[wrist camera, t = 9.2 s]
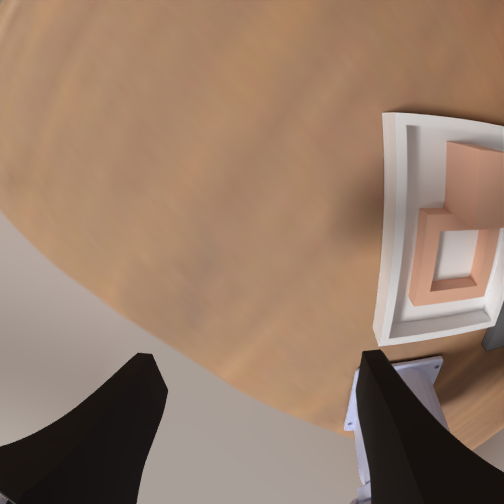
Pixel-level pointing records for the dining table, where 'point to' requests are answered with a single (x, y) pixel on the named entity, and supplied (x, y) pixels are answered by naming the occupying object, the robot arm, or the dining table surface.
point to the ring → (461, 223)
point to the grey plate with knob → (495, 333)
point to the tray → (450, 242)
